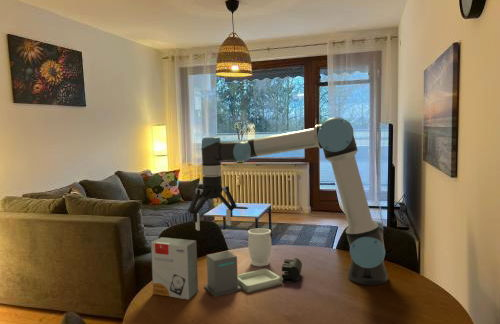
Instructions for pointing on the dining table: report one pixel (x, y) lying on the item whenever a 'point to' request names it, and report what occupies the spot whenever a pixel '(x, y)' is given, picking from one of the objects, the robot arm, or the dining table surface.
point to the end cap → (291, 270)
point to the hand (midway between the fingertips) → (213, 227)
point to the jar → (259, 246)
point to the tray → (258, 280)
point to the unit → (222, 273)
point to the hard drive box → (174, 267)
